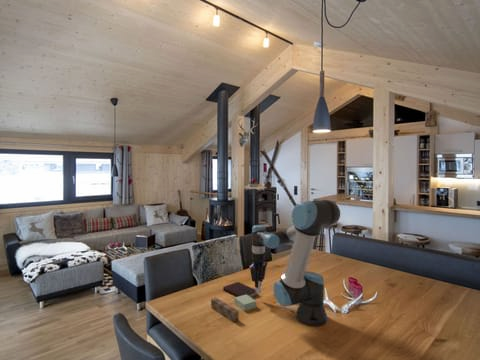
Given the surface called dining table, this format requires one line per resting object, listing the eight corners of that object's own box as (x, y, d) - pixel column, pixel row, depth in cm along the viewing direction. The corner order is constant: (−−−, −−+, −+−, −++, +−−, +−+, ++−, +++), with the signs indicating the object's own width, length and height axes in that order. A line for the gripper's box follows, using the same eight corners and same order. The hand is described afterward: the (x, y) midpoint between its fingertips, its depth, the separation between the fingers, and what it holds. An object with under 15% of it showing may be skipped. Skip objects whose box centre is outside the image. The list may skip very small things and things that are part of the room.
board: (238, 320, 147) (238, 310, 147) (233, 322, 146) (233, 312, 145) (215, 306, 163) (215, 297, 163) (211, 307, 161) (211, 298, 161)
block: (256, 308, 161) (256, 301, 161) (243, 311, 157) (243, 304, 157) (246, 301, 170) (246, 294, 170) (234, 304, 166) (234, 297, 166)
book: (242, 301, 169) (242, 296, 169) (223, 291, 184) (223, 285, 184) (258, 296, 177) (258, 290, 177) (238, 286, 192) (238, 281, 192)
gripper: (262, 248, 176) (261, 287, 177) (245, 252, 168) (245, 293, 169) (271, 251, 170) (270, 291, 171) (254, 256, 162) (254, 297, 163)
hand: (258, 292), depth 170 cm, fingers closed
